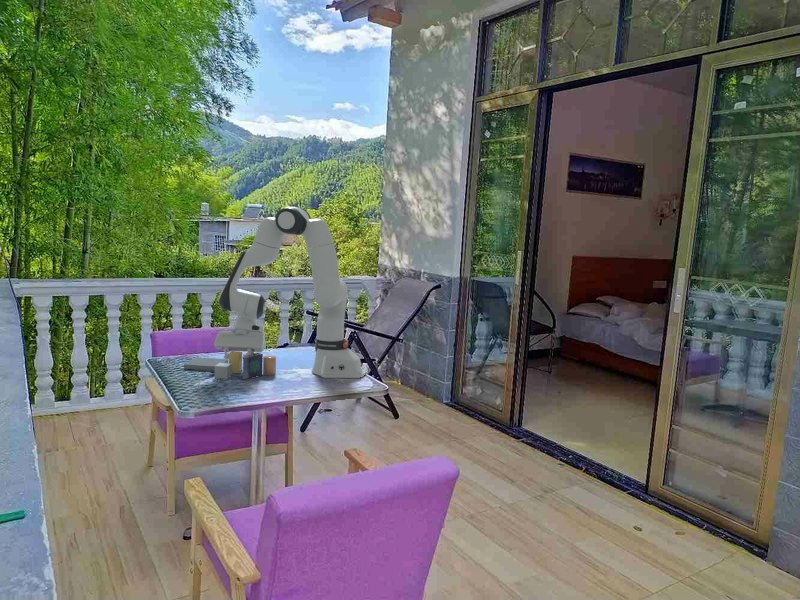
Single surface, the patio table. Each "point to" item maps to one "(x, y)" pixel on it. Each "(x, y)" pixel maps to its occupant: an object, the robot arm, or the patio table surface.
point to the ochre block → (236, 361)
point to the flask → (252, 365)
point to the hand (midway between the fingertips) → (235, 358)
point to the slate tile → (204, 363)
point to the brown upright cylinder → (269, 365)
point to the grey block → (223, 370)
